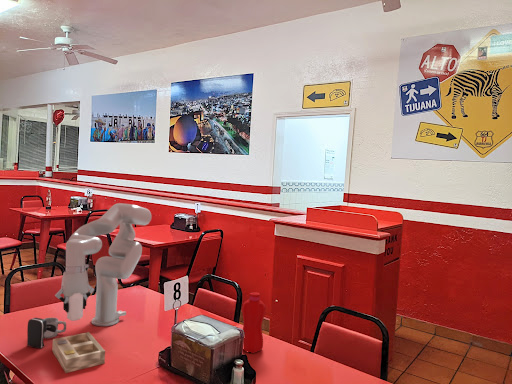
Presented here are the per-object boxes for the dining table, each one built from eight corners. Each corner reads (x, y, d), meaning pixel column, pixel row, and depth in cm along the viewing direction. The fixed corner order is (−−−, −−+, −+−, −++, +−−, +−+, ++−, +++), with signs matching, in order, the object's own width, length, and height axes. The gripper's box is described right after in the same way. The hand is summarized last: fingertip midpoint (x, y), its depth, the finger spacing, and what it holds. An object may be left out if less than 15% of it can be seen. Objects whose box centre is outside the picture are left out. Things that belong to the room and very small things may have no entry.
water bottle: (248, 341, 186) (252, 287, 184) (265, 350, 178) (269, 294, 176) (233, 346, 179) (237, 290, 178) (250, 355, 171) (254, 297, 170)
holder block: (88, 343, 172) (88, 331, 171) (104, 363, 156) (105, 350, 156) (52, 351, 163) (52, 338, 163) (65, 373, 147) (66, 358, 147)
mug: (39, 339, 173) (40, 323, 172) (41, 332, 179) (42, 318, 179) (65, 337, 177) (66, 322, 176) (66, 330, 183) (67, 316, 182)
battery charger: (47, 345, 167) (48, 318, 167) (40, 349, 164) (41, 321, 163) (33, 342, 169) (34, 315, 169) (26, 346, 166) (27, 318, 165)
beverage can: (85, 319, 174) (85, 292, 173) (70, 323, 170) (70, 295, 168) (79, 314, 178) (79, 287, 177) (64, 318, 174) (64, 291, 172)
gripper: (93, 263, 180) (93, 302, 182) (51, 269, 169) (50, 310, 171) (99, 268, 174) (98, 308, 176) (55, 274, 163) (55, 317, 165)
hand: (75, 309), depth 173 cm, fingers closed on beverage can, 6 cm apart
